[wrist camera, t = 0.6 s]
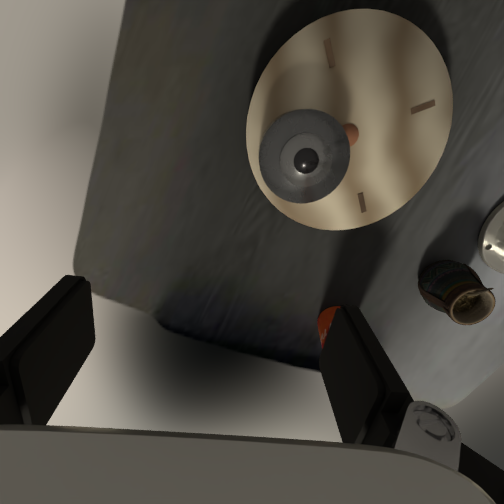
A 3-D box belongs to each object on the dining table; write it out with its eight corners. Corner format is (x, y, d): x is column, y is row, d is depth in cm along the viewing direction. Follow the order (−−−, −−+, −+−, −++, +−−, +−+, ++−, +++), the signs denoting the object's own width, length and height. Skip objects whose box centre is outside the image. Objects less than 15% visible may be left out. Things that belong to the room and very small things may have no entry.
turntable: (430, -27, 28) (443, -37, 26) (449, 190, 37) (460, 194, 35) (216, 68, 31) (213, 65, 29) (280, 246, 40) (281, 253, 38)
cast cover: (328, 95, 31) (341, 92, 26) (347, 178, 34) (362, 188, 30) (246, 128, 32) (245, 131, 27) (273, 204, 36) (276, 218, 31)
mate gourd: (413, 301, 46) (452, 348, 37) (408, 259, 43) (449, 298, 34) (462, 290, 45) (515, 334, 36) (461, 246, 42) (518, 282, 33)
